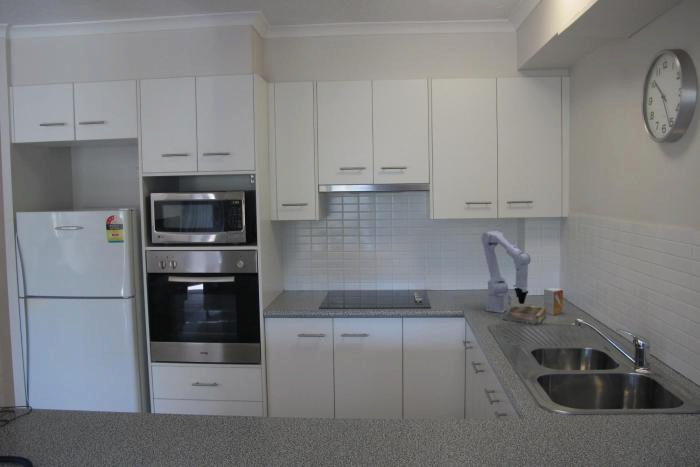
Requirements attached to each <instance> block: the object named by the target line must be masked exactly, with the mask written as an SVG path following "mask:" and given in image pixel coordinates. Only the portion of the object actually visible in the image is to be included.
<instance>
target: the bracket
mask: <svg viewBox="0 0 700 467" xmlns="http://www.w3.org/2000/svg"><path fill="white" fill-rule="evenodd" d="M507 298H508V299H507V300H508V301H507V302H508V305H509V307H510V306H511V307H531V306H532V297H531V295H526V298H525V302H524V304H520V303H519V297H518V296H517V295H516V294H513V293H511V294H508V295H507Z"/></svg>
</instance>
